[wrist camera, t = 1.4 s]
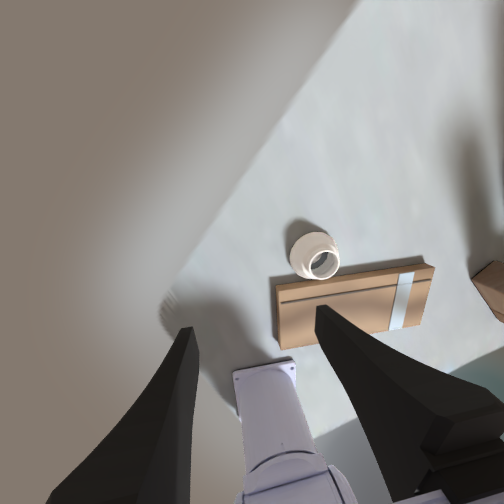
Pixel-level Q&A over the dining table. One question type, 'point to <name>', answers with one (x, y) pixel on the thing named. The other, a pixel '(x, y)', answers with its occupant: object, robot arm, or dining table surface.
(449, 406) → the robot arm
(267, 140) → the dining table surface
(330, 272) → the lidless jar
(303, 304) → the board
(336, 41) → the dining table surface
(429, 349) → the dining table surface
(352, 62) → the dining table surface
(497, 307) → the wooden block
